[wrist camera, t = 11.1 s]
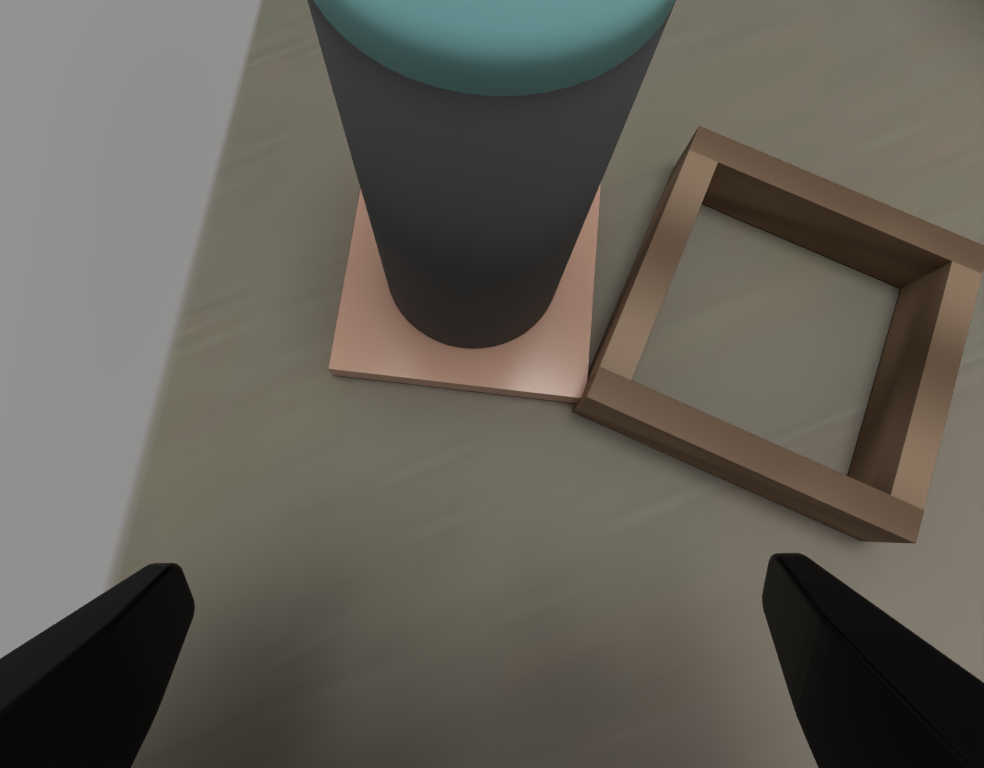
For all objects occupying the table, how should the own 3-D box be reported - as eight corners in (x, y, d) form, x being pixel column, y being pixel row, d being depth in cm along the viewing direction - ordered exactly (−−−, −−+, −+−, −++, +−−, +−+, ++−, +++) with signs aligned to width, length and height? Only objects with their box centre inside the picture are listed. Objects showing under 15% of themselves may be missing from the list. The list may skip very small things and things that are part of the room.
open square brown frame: (862, 541, 18) (916, 543, 16) (572, 411, 19) (586, 396, 17) (934, 276, 21) (988, 247, 19) (674, 166, 21) (699, 125, 19)
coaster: (581, 403, 19) (586, 398, 18) (333, 375, 19) (328, 368, 18) (596, 186, 21) (601, 172, 20) (372, 157, 21) (369, 142, 20)
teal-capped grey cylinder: (421, 374, 18) (356, 89, 6) (362, 219, 19) (215, -258, 8) (585, 313, 19) (792, -37, 7) (519, 168, 20) (605, -334, 8)
